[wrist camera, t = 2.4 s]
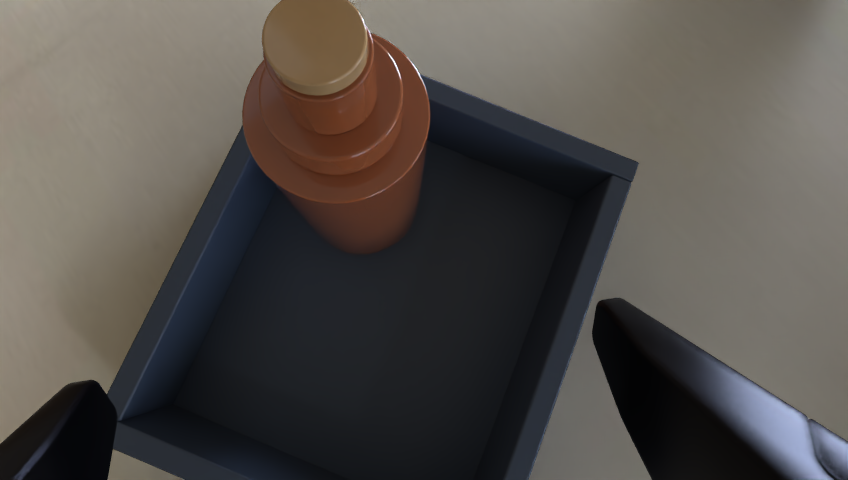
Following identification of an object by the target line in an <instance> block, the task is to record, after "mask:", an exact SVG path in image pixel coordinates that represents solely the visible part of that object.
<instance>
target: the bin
mask: <svg viewBox="0 0 848 480" xmlns="http://www.w3.org/2000/svg"><path fill="white" fill-rule="evenodd" d="M420 76H421V78H422V80H423V82H424V85H425V87H426V90H427V94H428V98H429V103H430V127H429V134H428V141H427V148H426V155H425V162H424V169H423V176H422V183H421V190H420V197H419V205H418V210H417V214H416V217H415V220H414V222H413V224H412V226H411V227H410V229H409V230H408V232H407V233H406V234H405V235H404V236H403V238H401V239H400V240H399V241H398V242H397V243H395V244H394V245H392V246H391V247H389V248H387V249H385V250H382V251H379V252H376V253H371V254H352V253H347V252H344V251H341V250H338V249H336V248H334V247H332V246H331V245H329V244H328V243H326V242H325V241H324V240H323V239H322V238H321V237H320V236H319V235H318V234H317V233H316V231H315V230H314V229H313V228H312V227H311V226H310V225H309V223H308V222H307V221H306V220H305V219H304V218H303V217H302V215H301V214H300V213H299V212H298V211H297V210H296V209H295V207H294V206H293V205H292V204H291V203H290V202H289V201H288V199H287V198H286V197H285V196H284V195H283V194H282V192H281V191H280V190H279V189H278V188H277V187H276V186H275V184H274V183H273V182H272V181H271V180H270V179H269V178H268V176H267V175H266V174H265V173H264V172H263V171H262V169H261V168H260V167H259V166H258V164H257V163H256V161H255V160H254V158H253V156H252V154H251V152H250V150H249V148H248V145H247V142H246V139H245V135H244V130H243V125H242V127H241V129H240V131H239V133H238V135H237V137H236V139H235V141H234V143H233V145H232V147H231V149H230V151H229V153H228V155H227V157H226V159H225V161H224V163H223V165H222V167H221V169H220V171H219V173H218V175H217V177H216V179H215V181H214V183H213V185H212V187H211V189H210V191H209V193H208V195H207V197H206V199H205V201H204V203H203V205H202V207H201V209H200V211H199V213H198V215H197V217H196V219H195V221H194V223H193V225H192V226H191V228H190V230H189V232H188V234H187V236H186V238H185V240H184V242H183V244H182V246H181V248H180V250H179V252H178V254H177V256H176V258H175V260H174V262H173V264H172V266H171V268H170V270H169V272H168V274H167V276H166V278H165V280H164V282H163V284H162V286H161V288H160V290H159V292H158V294H157V296H156V298H155V300H154V302H153V304H152V306H151V308H150V310H149V312H148V314H147V316H146V318H145V320H144V322H143V324H142V326H141V328H140V330H139V332H138V334H137V336H136V338H135V340H134V342H133V344H132V346H131V348H130V350H129V351H128V353H127V355H126V357H125V359H124V361H123V363H122V365H121V367H120V369H119V371H118V373H117V375H116V377H115V379H114V381H113V383H112V385H111V387H110V389H109V391H108V393H107V396H108V397H109V399H110V400H111V402H112V403H113V405H114V406H115V408H116V411H117V417H118V420H117V427H116V433H115V439H114V445H113V449H115V450H117V451H119V452H122V453H124V454H126V455H129V456H131V457H133V458H136V459H138V460H140V461H143V462H145V463H147V464H150V465H152V466H154V467H157V468H159V469H161V470H164V471H166V472H168V473H171V474H173V475H175V476H178V477H180V478H182V479H185V480H529V477H530V474H531V471H532V468H533V465H534V462H535V460H536V457H537V454H538V451H539V448H540V445H541V442H542V439H543V437H544V434H545V431H546V428H547V425H548V422H549V419H550V416H551V414H552V411H553V408H554V405H555V402H556V399H557V396H558V393H559V391H560V388H561V385H562V382H563V379H564V376H565V373H566V370H567V368H568V365H569V362H570V359H571V356H572V353H573V350H574V347H575V345H576V342H577V339H578V336H579V333H580V330H581V327H582V324H583V322H584V319H585V316H586V313H587V310H588V307H589V304H590V301H591V299H592V296H593V293H594V290H595V287H596V284H597V281H598V278H599V276H600V273H601V270H602V267H603V264H604V261H605V258H606V255H607V253H608V250H609V247H610V244H611V241H612V238H613V235H614V232H615V230H616V227H617V224H618V221H619V218H620V215H621V212H622V209H623V207H624V204H625V201H626V198H627V195H628V192H629V189H630V186H631V182H632V181H633V179H634V176H635V173H636V170H637V167H638V164H639V163H638V162H636V161H634V160H631V159H629V158H626V157H624V156H621V155H619V154H616V153H614V152H611V151H609V150H606V149H604V148H601V147H599V146H596V145H594V144H592V143H589V142H587V141H584V140H582V139H579V138H577V137H574V136H572V135H569V134H567V133H564V132H562V131H559V130H557V129H554V128H552V127H549V126H547V125H544V124H542V123H539V122H537V121H534V120H532V119H530V118H527V117H525V116H522V115H520V114H517V113H515V112H512V111H510V110H507V109H505V108H502V107H500V106H497V105H495V104H492V103H490V102H487V101H485V100H482V99H480V98H477V97H475V96H472V95H470V94H468V93H465V92H463V91H460V90H458V89H455V88H453V87H450V86H448V85H445V84H443V83H440V82H438V81H435V80H433V79H430V78H428V77H425V76H423V75H420Z"/></svg>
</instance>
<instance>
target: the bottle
mask: <svg viewBox="0 0 848 480" xmlns="http://www.w3.org/2000/svg"><path fill="white" fill-rule="evenodd" d="M262 46H263V58H264V60H263V61H262V63H261V64H260V65H259V66H258V68H257V69H256V71H255V73H254V74H253V76H252V78H251V80H250V83H249V85H248V87H247V90H246V94H245V98H244V103H243V110H242V123H243V130H244V135H245V139H246V142H247V145H248V148H249V150H250V152H251V154H252V156H253V158H254V160H255V161H256V163H257V164H258V166H259V167H260V168H261V169H262V171H263V172H264V173H265V174H266V175H267V176H268V178H269V179H270V180H271V181H272V182H273V183H274V184H275V186H276V187H277V188H278V189H279V190H280V191H281V192H282V194H283V195H284V196H285V197H286V198H287V199H288V201H289V202H290V203H291V204H292V205H293V206H294V207H295V209H296V210H297V211H298V212H299V213H300V214H301V215H302V217H303V218H304V219H305V220H306V221H307V222H308V223H309V225H310V226H311V227H312V228H313V229H314V230H315V231H316V233H317V234H318V235H319V236H320V237H321V238H322V239H323V240H324V241H325V242H326V243H328V244H329V245H331V246H332V247H334V248H336V249H338V250H341V251H344V252H347V253H352V254H371V253H376V252H379V251H382V250H385V249H387V248H389V247H391V246H392V245H394V244H395V243H397V242H398V241H399V240H400V239H401V238H403V236H404V235H405V234H406V233H407V232H408V230H409V229H410V227H411V226H412V224H413V222H414V220H415V217H416V214H417V210H418V205H419V197H420V190H421V183H422V176H423V169H424V162H425V155H426V148H427V141H428V134H429V127H430V103H429V98H428V94H427V90H426V87H425V85H424V82H423V80H422V78H421V76H420V74H419V72H418V70H417V69H416V68H415V66H414V65H413V63H412V62H411V61H410V60H409V59H408V57H407V56H406V55H405V54H404V53H403V52H402V51H400V50H399V49H398V48H397V47H396V46H394V45H393V44H391V43H390V42H388V41H387V40H385V39H383V38H381V37H379V36H377V35H375V34H372V33H370V31H369V30H368V28H367V26H366V25H365V22H364V20H363V18H362V16H361V14H360V13H359V11H358V10H357V9H356V8H355V6H354V5H353V4H351V3H350V2H349V1H348V0H282V1H280V2H279V3H278V4H277V5H276V6H275V7H274V8H273V9H272V10H271V12H270V13H269V15H268V17H267V19H266V21H265V24H264V27H263V31H262Z"/></svg>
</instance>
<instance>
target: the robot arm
mask: <svg viewBox="0 0 848 480" xmlns="http://www.w3.org/2000/svg"><path fill="white" fill-rule="evenodd" d="M592 337H593V342H594V345H595V348H596V351H597V354H598V356H599V359H600V362H601V364H602V367H603V370H604V373H605V375H606V378H607V381H608V384H609V386H610V389H611V392H612V394H613V397H614V400H615V403H616V405H617V408H618V410H619V413H620V415H621V418H622V420H623V422H624V424H625V426H626V429H627V431H628V433H629V435H630V437H631V439H632V441H633V443H634V445H635V447H636V449H637V451H638V453H639V455H640V457H641V459H642V461H643V463H644V465H645V467H646V469H647V471H648V473H649V475H650V477H651V479H652V480H848V441H846V440H845V439H843V438H841V437H840V436H838V435H837V434H835V433H833V432H832V431H830V430H829V429H827V428H826V427H824V426H822V425H821V424H819V423H818V422H816V421H815V420H813V419H809V420H808V418H807V416H806V415H805V414H803V413H802V412H800V411H799V410H797V409H795V408H794V407H792V406H791V405H789V404H787V403H786V402H784V401H783V400H781V399H780V398H778V397H776V396H775V395H773V394H772V393H770V392H769V391H767V390H765V389H764V388H762V387H761V386H759V385H758V384H756V383H754V382H753V381H751V380H750V379H748V378H747V377H745V376H743V375H742V374H740V373H739V372H737V371H736V370H734V369H732V368H731V367H729V366H728V365H726V364H725V363H723V362H721V361H720V360H718V359H717V358H715V357H714V356H712V355H710V354H709V353H707V352H706V351H704V350H703V349H701V348H699V347H698V346H696V345H695V344H693V343H692V342H690V341H688V340H687V339H685V338H684V337H682V336H681V335H679V334H677V333H676V332H674V331H673V330H671V329H670V328H668V327H666V326H665V325H663V324H662V323H660V322H659V321H657V320H655V319H654V318H652V317H651V316H649V315H647V314H646V313H644V312H643V311H641V310H640V309H638V308H636V307H635V306H633V305H632V304H630V303H629V302H627V301H625V300H624V299H621V298H613V299H606V300H601V301H599V302H598V304H597V306H596V311H595V318H594V324H593V330H592ZM117 420H118V417H117V411H116V408H115V406H114V405H113V403H112V402H111V400H110V399H109V397H108V396H107V394H106V393H105V392H104V390H103V389H102V387H101V386H100V384H99V383H98V382H96V381H94V380H86V381H80V382H74V383H70V384H68V385H66V386H65V387H63V388H62V389H61V390H60V391H59V392H58V393H57V394H55V395H54V396H53V397H52V398H51V399H50V400H49V401H48V402H47V403H45V404H44V405H43V406H42V407H41V408H40V409H39V410H38V411H36V412H35V413H34V414H33V415H32V416H31V417H30V418H29V419H28V420H26V421H25V422H24V423H23V424H22V425H21V426H20V427H19V428H17V429H16V430H15V431H14V432H13V433H12V434H11V435H10V436H9V437H7V438H6V439H5V440H4V441H3V442H2V443H1V444H0V480H107V479H108V474H109V468H110V462H111V456H112V450H113V445H114V439H115V433H116V427H117Z"/></svg>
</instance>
